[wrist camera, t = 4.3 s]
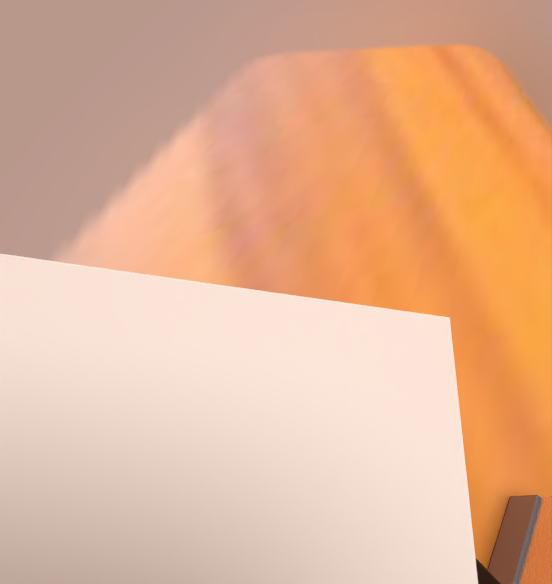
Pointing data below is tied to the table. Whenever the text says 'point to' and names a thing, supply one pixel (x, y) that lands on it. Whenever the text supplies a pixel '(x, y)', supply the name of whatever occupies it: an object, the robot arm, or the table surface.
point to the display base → (524, 542)
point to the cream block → (223, 435)
